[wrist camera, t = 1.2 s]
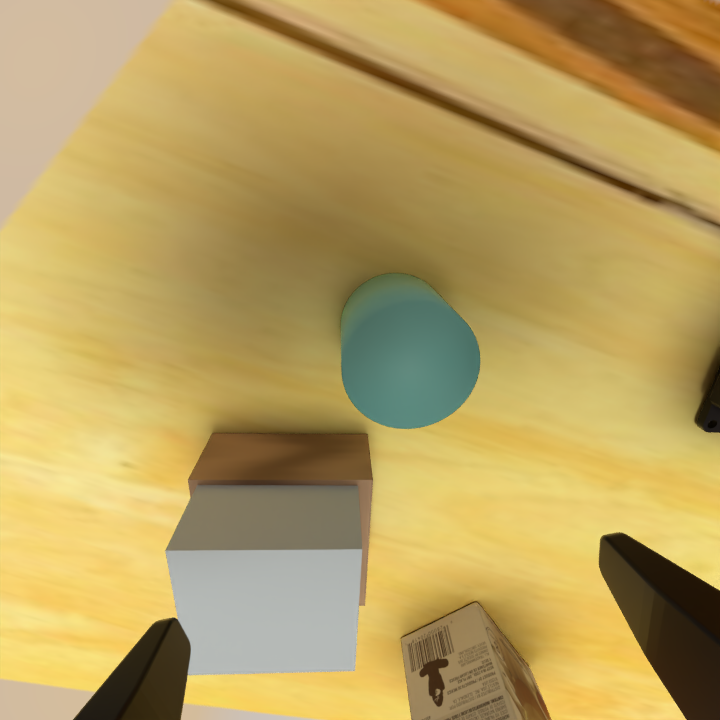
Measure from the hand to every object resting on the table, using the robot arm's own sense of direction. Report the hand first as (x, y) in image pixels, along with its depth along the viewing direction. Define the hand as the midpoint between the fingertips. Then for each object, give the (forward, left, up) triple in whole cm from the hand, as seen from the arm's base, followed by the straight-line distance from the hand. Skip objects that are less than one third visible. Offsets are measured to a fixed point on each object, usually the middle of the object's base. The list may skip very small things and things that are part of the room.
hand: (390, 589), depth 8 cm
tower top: (+4, +8, -9) cm, 12 cm away
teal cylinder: (-1, -2, -12) cm, 12 cm away
